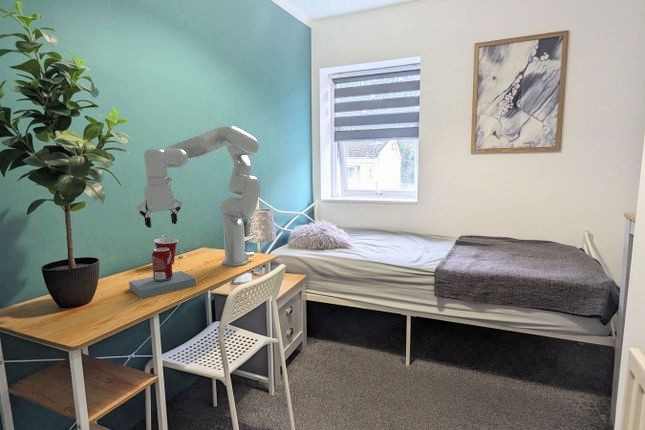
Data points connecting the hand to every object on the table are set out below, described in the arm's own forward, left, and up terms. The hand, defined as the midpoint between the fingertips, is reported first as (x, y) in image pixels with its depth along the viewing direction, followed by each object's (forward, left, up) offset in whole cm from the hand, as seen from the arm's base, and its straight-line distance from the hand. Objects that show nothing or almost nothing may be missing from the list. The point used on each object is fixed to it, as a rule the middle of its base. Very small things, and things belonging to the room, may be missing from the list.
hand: (161, 225), depth 141 cm
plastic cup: (-11, -30, -24) cm, 40 cm away
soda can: (+2, +4, -21) cm, 21 cm away
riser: (+3, +4, -24) cm, 24 cm away
